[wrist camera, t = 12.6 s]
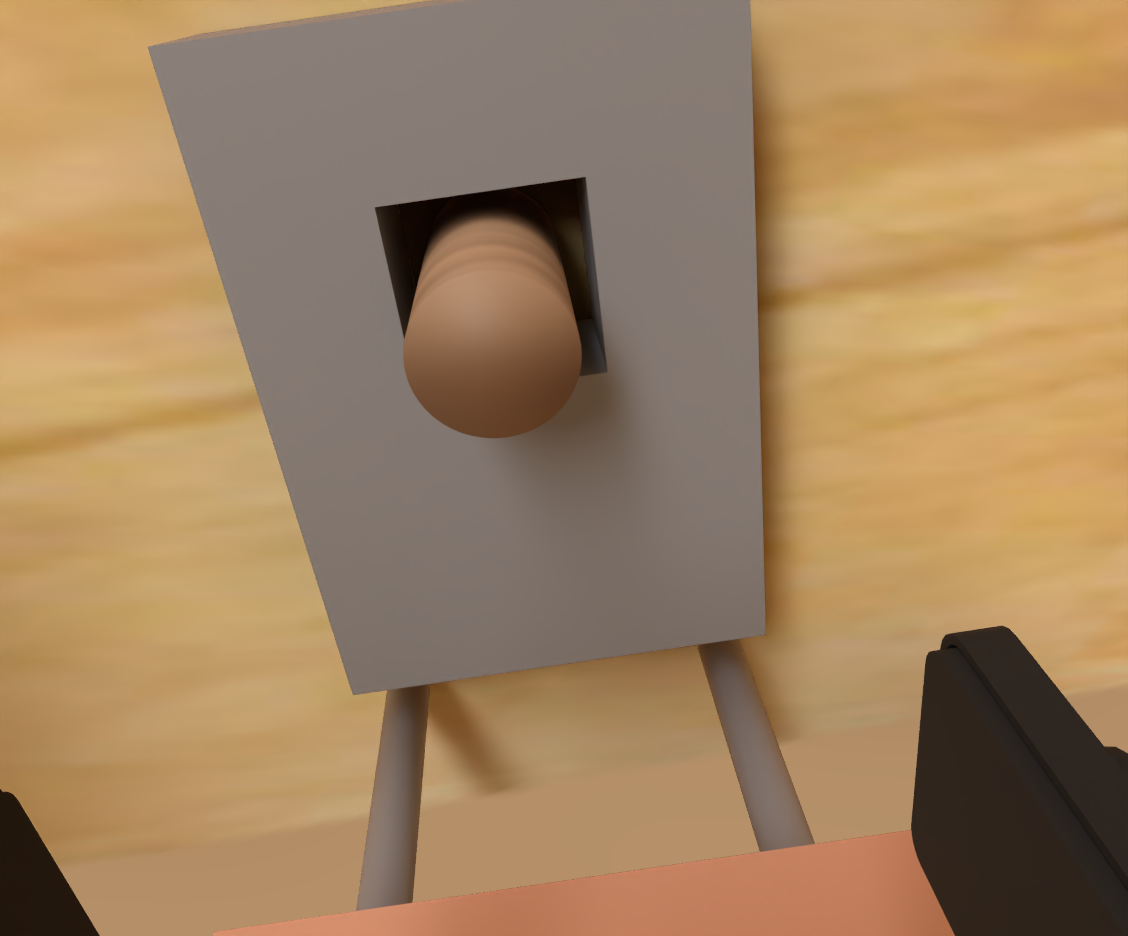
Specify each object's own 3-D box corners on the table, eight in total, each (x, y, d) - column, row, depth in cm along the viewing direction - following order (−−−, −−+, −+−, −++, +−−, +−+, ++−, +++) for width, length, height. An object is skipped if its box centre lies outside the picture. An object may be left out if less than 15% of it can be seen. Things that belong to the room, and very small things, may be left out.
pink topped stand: (322, 551, 33) (155, 1134, 17) (758, 487, 33) (1026, 1006, 17) (372, 713, 37) (277, 1318, 21) (763, 656, 37) (984, 1214, 21)
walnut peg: (416, 195, 28) (385, 285, 20) (548, 175, 28) (570, 259, 20) (441, 320, 30) (422, 449, 22) (565, 302, 30) (591, 425, 22)
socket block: (201, 33, 25) (148, 46, 21) (708, -40, 25) (748, -40, 21) (368, 612, 35) (353, 695, 31) (734, 559, 35) (765, 635, 31)
